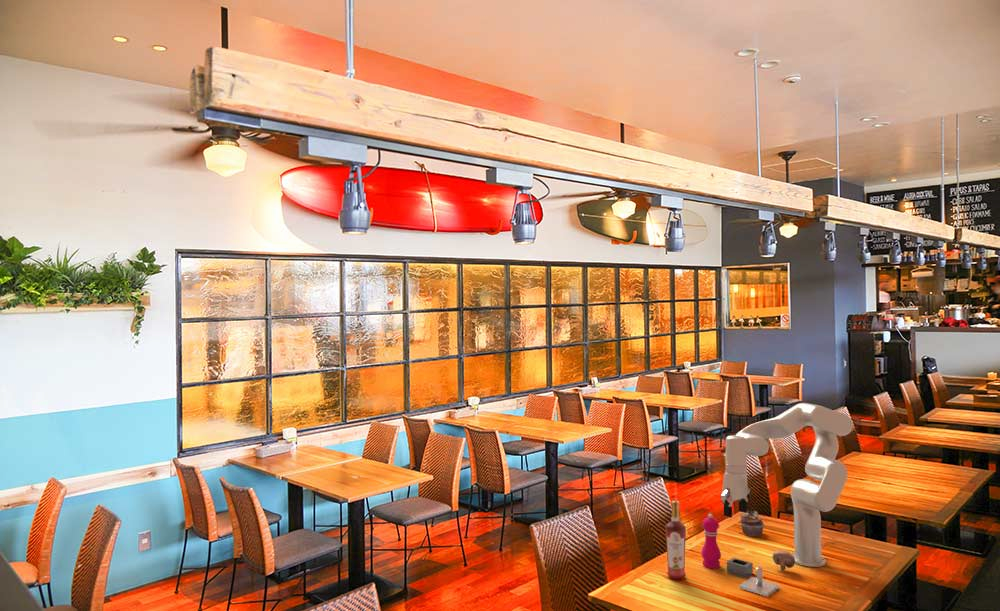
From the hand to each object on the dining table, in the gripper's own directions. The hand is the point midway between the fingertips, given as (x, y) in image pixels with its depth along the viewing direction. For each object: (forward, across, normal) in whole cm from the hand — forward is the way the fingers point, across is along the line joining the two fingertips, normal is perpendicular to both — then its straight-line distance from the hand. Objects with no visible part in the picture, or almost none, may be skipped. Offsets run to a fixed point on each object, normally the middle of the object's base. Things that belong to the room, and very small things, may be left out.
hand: (735, 514), depth 242 cm
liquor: (+23, +21, -11) cm, 33 cm away
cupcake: (+21, -43, -19) cm, 51 cm away
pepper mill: (+22, +1, -9) cm, 24 cm away
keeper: (+22, +6, +13) cm, 26 cm away
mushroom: (+22, -15, +11) cm, 28 cm away
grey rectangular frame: (+22, -1, +1) cm, 22 cm away
